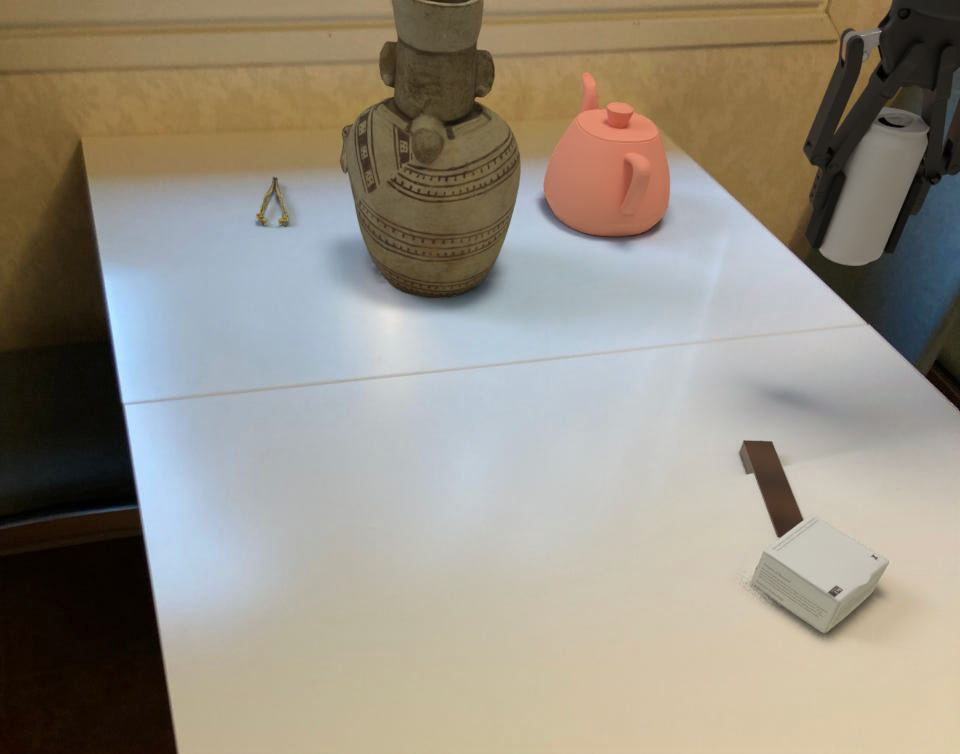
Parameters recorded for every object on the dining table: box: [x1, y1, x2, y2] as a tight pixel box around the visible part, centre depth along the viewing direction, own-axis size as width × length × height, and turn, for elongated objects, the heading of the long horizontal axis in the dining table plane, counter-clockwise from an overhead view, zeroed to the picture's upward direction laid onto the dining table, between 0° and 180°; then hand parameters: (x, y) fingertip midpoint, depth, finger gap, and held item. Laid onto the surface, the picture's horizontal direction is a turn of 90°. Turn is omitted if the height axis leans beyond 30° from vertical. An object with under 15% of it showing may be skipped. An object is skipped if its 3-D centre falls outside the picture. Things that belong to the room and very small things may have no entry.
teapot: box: [542, 71, 671, 237], centre depth 123 cm, size 25×17×13 cm
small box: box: [749, 513, 890, 634], centre depth 79 cm, size 8×8×5 cm
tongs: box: [255, 176, 290, 227], centre depth 121 cm, size 4×13×2 cm, turn 11°
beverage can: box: [818, 106, 930, 267], centre depth 84 cm, size 6×6×12 cm
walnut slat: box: [739, 439, 804, 539], centre depth 89 cm, size 14×3×2 cm, turn 2°
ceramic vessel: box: [339, 0, 522, 299], centre depth 102 cm, size 19×21×30 cm
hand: (848, 243), depth 88 cm, fingers closed on beverage can, 6 cm apart
